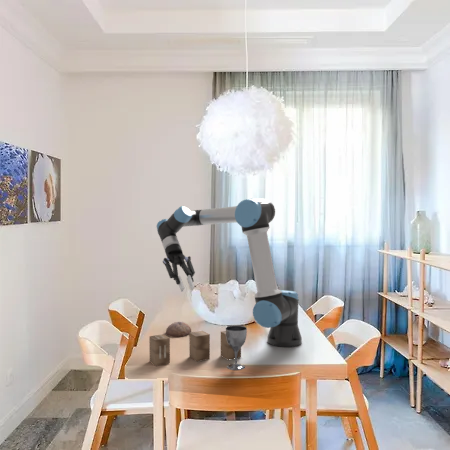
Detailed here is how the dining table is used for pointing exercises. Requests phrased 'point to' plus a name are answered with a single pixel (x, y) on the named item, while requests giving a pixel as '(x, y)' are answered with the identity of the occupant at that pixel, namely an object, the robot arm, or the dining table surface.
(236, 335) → the wine glass
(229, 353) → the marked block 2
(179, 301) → the dining table surface
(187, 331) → the decorative stone
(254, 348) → the dining table surface
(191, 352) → the unmarked block
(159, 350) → the marked block 1
